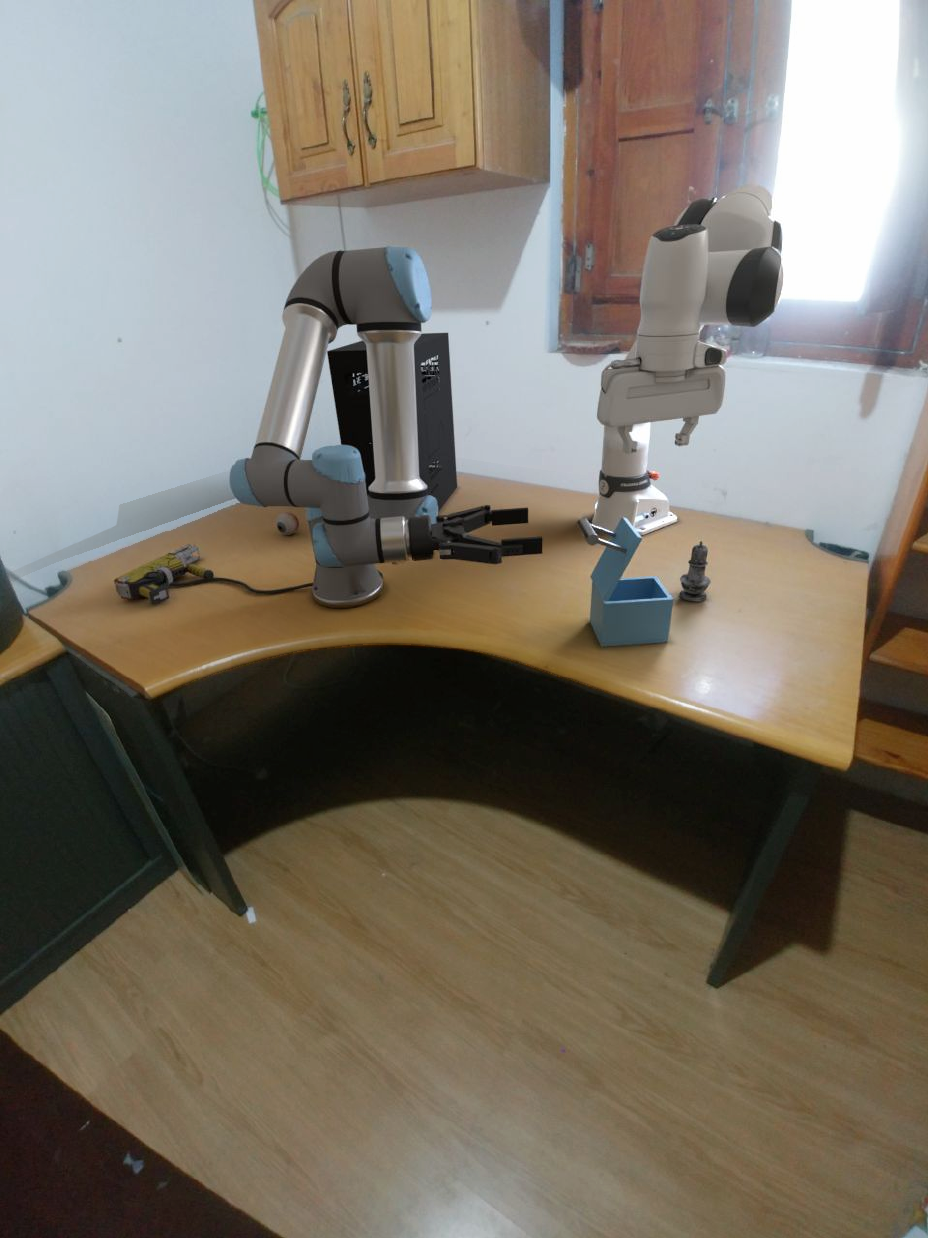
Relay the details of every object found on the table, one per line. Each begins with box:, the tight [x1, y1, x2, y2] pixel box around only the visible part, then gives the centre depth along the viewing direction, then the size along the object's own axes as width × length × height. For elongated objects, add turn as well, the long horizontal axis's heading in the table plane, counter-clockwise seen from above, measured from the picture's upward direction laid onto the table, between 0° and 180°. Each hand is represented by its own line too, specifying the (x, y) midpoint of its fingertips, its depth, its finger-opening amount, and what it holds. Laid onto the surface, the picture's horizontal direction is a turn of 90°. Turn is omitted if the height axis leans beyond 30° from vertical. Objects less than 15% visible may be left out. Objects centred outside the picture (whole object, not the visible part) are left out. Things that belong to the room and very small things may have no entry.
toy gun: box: [113, 543, 215, 606], centre depth 141 cm, size 5×24×15 cm
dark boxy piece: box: [326, 332, 458, 513], centre depth 169 cm, size 38×20×45 cm, turn 167°
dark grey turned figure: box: [678, 540, 712, 603], centre depth 120 cm, size 6×6×12 cm
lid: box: [576, 517, 644, 601], centre depth 105 cm, size 12×9×8 cm
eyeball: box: [275, 511, 300, 536], centre depth 163 cm, size 6×6×6 cm
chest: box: [589, 575, 675, 648], centre depth 111 cm, size 12×9×9 cm
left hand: (534, 529), depth 102 cm, fingers open, 13 cm apart
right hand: (655, 448), depth 96 cm, fingers open, 8 cm apart
